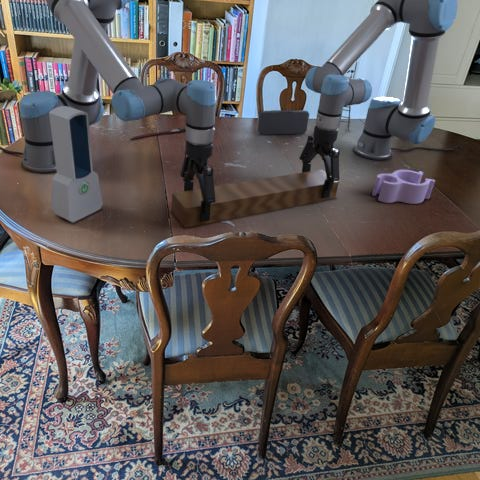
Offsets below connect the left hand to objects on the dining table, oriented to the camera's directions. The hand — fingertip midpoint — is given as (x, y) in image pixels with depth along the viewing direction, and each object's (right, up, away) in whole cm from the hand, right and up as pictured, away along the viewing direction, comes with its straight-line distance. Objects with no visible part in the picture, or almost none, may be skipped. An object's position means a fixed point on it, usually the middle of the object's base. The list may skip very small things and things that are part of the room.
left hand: (196, 210), depth 138 cm
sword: (-18, +35, +54) cm, 67 cm away
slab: (+19, +3, +11) cm, 22 cm away
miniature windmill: (+61, +45, +84) cm, 113 cm away
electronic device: (-34, -1, -3) cm, 34 cm away
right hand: (+38, +8, +20) cm, 44 cm away
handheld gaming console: (+32, +39, +69) cm, 85 cm away
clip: (+69, +7, +26) cm, 74 cm away
